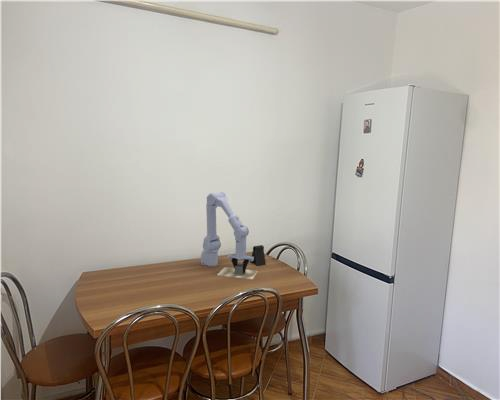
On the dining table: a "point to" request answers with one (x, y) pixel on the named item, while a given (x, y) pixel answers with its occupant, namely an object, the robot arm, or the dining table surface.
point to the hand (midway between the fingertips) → (240, 272)
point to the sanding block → (239, 269)
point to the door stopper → (258, 255)
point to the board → (231, 273)
